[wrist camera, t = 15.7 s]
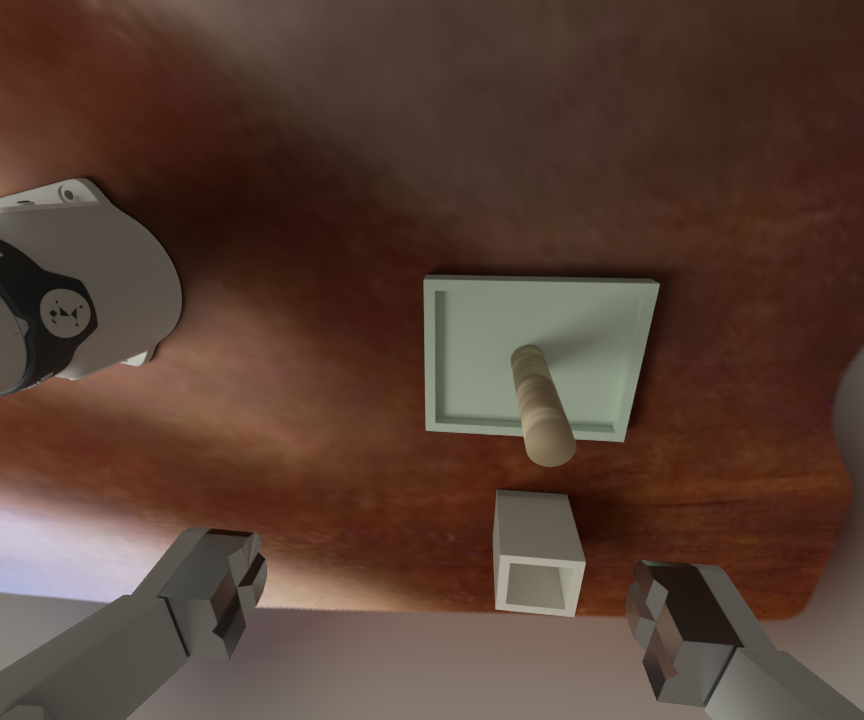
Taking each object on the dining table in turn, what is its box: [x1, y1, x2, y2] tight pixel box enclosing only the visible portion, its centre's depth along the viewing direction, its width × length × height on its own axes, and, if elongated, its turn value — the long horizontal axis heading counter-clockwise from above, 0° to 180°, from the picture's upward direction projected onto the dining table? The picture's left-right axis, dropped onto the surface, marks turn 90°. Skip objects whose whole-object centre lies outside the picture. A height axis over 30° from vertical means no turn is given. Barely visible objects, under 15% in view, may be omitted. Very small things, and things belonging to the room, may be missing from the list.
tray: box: [424, 275, 660, 442], centre depth 39 cm, size 20×16×2 cm
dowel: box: [510, 345, 576, 467], centre depth 33 cm, size 3×3×14 cm
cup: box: [493, 490, 586, 617], centre depth 44 cm, size 8×8×9 cm
